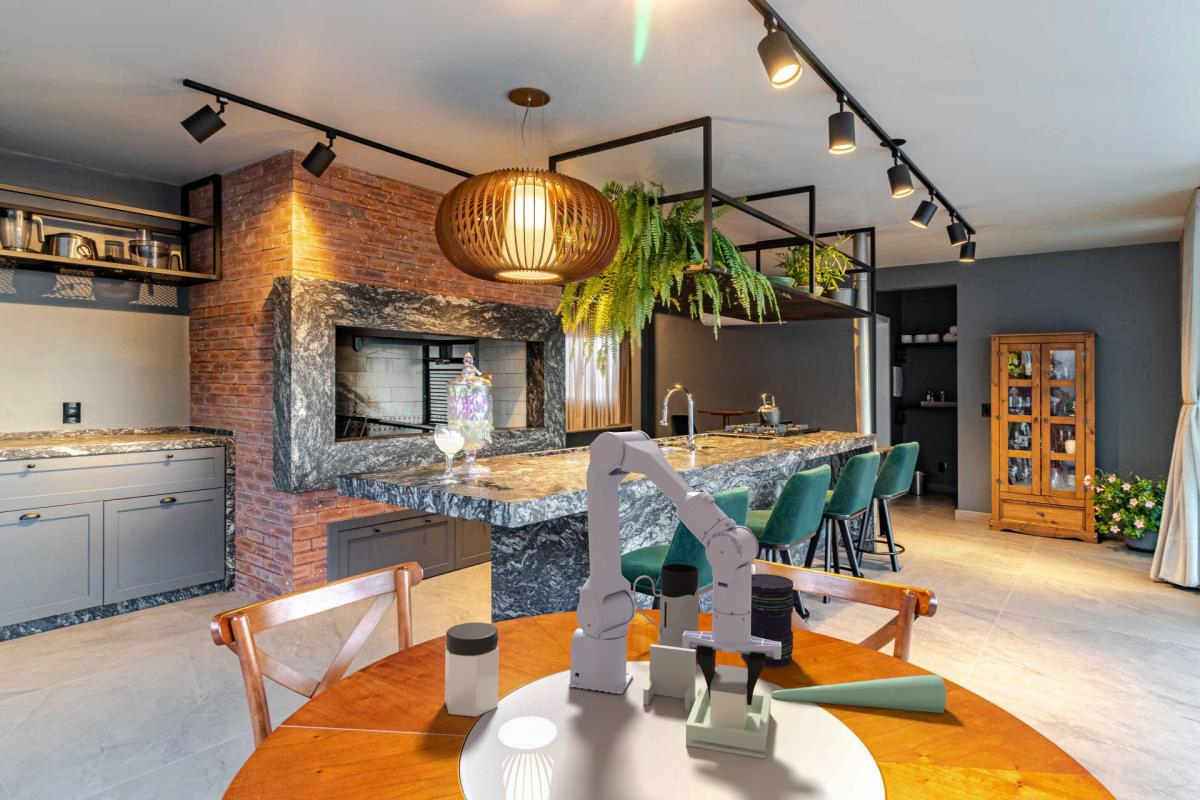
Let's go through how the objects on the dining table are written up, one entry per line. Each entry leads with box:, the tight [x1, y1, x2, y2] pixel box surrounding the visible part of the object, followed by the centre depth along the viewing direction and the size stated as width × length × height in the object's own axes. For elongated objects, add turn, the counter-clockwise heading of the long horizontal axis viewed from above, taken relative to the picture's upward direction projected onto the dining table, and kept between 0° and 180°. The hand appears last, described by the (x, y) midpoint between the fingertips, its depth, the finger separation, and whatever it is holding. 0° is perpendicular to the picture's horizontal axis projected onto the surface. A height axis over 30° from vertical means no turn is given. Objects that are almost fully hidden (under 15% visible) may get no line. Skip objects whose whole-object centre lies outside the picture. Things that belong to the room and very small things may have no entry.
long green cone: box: [770, 674, 947, 714], centre depth 110 cm, size 5×6×27 cm
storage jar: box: [740, 573, 795, 669], centre depth 129 cm, size 10×10×15 cm
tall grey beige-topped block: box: [710, 664, 750, 730], centre depth 101 cm, size 5×8×6 cm, turn 163°
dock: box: [642, 643, 697, 713], centre depth 110 cm, size 8×5×8 cm
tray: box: [685, 684, 772, 760], centre depth 101 cm, size 11×14×3 cm
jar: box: [444, 622, 500, 718], centre depth 108 cm, size 9×8×12 cm
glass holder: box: [632, 563, 700, 649], centre depth 137 cm, size 9×14×15 cm, turn 102°
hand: (730, 699), depth 101 cm, fingers closed on tall grey beige-topped block, 5 cm apart
